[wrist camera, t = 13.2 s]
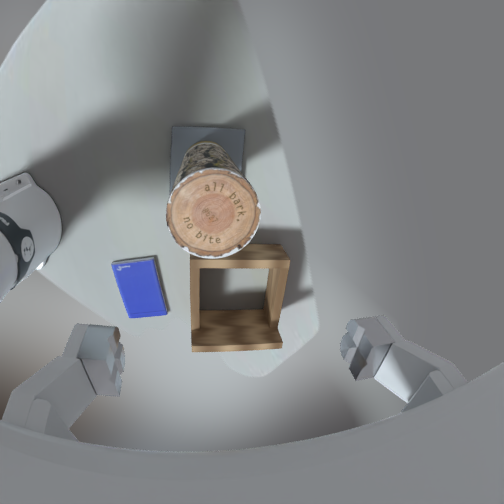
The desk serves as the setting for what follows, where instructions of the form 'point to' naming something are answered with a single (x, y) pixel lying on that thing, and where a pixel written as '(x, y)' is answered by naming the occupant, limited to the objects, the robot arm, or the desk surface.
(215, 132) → the slate pad
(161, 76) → the desk surface
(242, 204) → the wooden log
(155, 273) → the hard drive
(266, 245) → the frame
